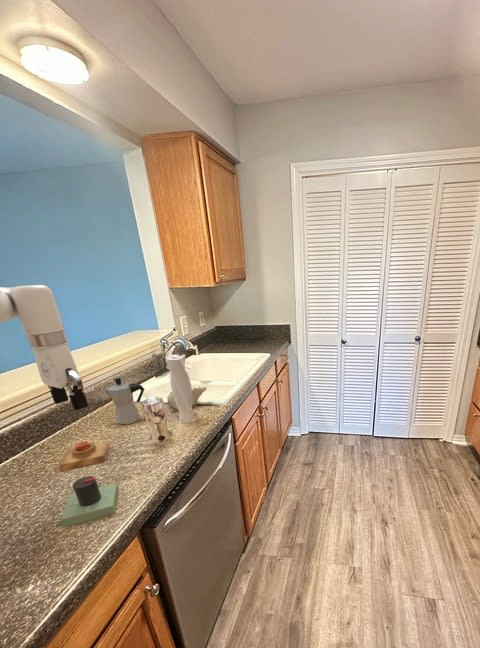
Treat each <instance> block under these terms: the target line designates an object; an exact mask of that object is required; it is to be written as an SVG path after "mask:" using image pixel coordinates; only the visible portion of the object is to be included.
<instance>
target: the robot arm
mask: <svg viewBox="0 0 480 648" xmlns="http://www.w3.org/2000/svg"><path fill="white" fill-rule="evenodd" d="M53 293H54V292H53V291H52V290H51V288H50V287H49V286H47V285H45V284H31V285H19V286H17V285H16V286H14V287H7V286H6V287H5V286H0V324H1V323H3V322H7V321H10V320H14V319H18V318H19V320H20V322H21V323H20V324H21V325H22V328H23V331H24V334H25V337H26V338H27V341H28V343H29V346H30V349H31V350H32V351H33V357H34V359H35V360H34V361H35V363H36V366H37V370H38V373H39V376H40V380H41V383H42V384H44V385H46V386H47V388H48V389H49V392H50V395H51V397H52V400H53V402H54V404H55V405H58V404H62V403H66V402H68V401H69V400H70V403H71V405H72V408H73V411H78V410H82V409H85V408H87V407H89V404H88V400H87V398H86V395H85V389H84V385H83V379H82V377H81V376H80V373H79V370H78V368H77V365H76V362H75V359H74V357H73V355H72V352H71V350H70V348H69V346H68V344H70V342H69V339H68V336H67V333H66V330H65V327H64V324H63V321H62V318H61V314H60V311H59V309H58V306H57V303H56V300H55V296H54V294H53ZM66 390H67V391H66ZM67 392H68V394H69V395H68V394H67Z"/></svg>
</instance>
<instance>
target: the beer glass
mask: <svg viewBox="0 0 480 648" xmlns="http://www.w3.org/2000/svg"><path fill="white" fill-rule="evenodd" d="M141 403H142V404H141V405H142V412H143V416H144V419H145V421H146V423H147V425H148V427H149V429H150V432H151V440H152V443H153V442H154V443H153V444H156V443H160V444H164V443H167V442H169V441H170V440H171V437H172V436H171V434H170V432H169V429H168V413H167V408H166V405H165V401H164V399H163V397H160V396H154V397H149V398H146V399H144V400H142V402H141ZM169 439H170V440H169ZM166 441H167V442H166ZM163 442H164V443H163Z"/></svg>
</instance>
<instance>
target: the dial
mask: <svg viewBox="0 0 480 648" xmlns="http://www.w3.org/2000/svg"><path fill="white" fill-rule="evenodd" d="M72 488H73V491H74V494H76V496H77V499H78V502H79V504H80V505H81V506H89V505H92V504H95V503H96V502H98V501H99V500H100V499H101V494H100V491H99V488H100V487H99V485H98V483H97V480H96V477H95V476H92V475H88V476H84V477H81V478H79V479H77V480H75V481H74V482H73V483H72Z"/></svg>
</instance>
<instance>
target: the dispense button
mask: <svg viewBox="0 0 480 648" xmlns="http://www.w3.org/2000/svg"><path fill="white" fill-rule="evenodd" d="M89 443H90V442H89V441H85V440H84V441H80V442H78V443H76V444H75V445H74V446H75V447H76V450H77V451H83V450H86V449H88V448H90V446H89Z"/></svg>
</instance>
